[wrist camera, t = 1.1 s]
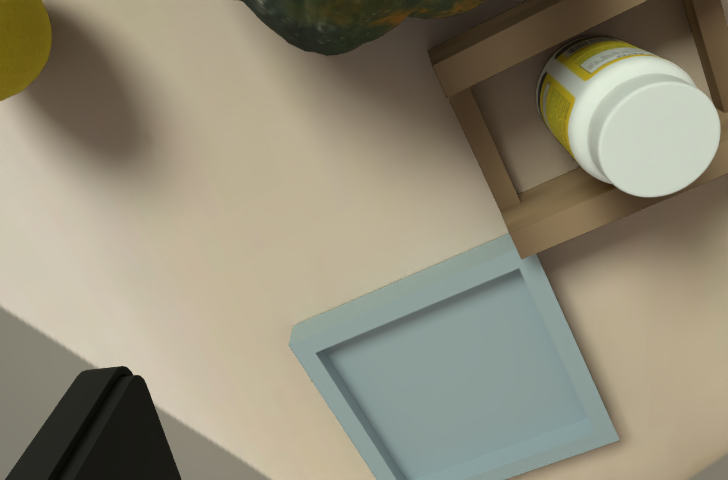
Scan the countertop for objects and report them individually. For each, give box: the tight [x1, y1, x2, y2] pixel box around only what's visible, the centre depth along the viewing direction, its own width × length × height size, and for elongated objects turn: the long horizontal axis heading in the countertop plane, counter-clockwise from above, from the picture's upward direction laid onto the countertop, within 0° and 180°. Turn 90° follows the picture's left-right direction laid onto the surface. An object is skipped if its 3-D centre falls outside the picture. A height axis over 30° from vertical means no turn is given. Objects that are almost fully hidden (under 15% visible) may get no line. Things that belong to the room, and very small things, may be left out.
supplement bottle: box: [536, 35, 721, 197], centre depth 26 cm, size 5×5×8 cm
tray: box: [289, 233, 620, 480], centre depth 35 cm, size 13×13×2 cm
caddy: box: [428, 0, 728, 260], centre depth 28 cm, size 11×9×4 cm
